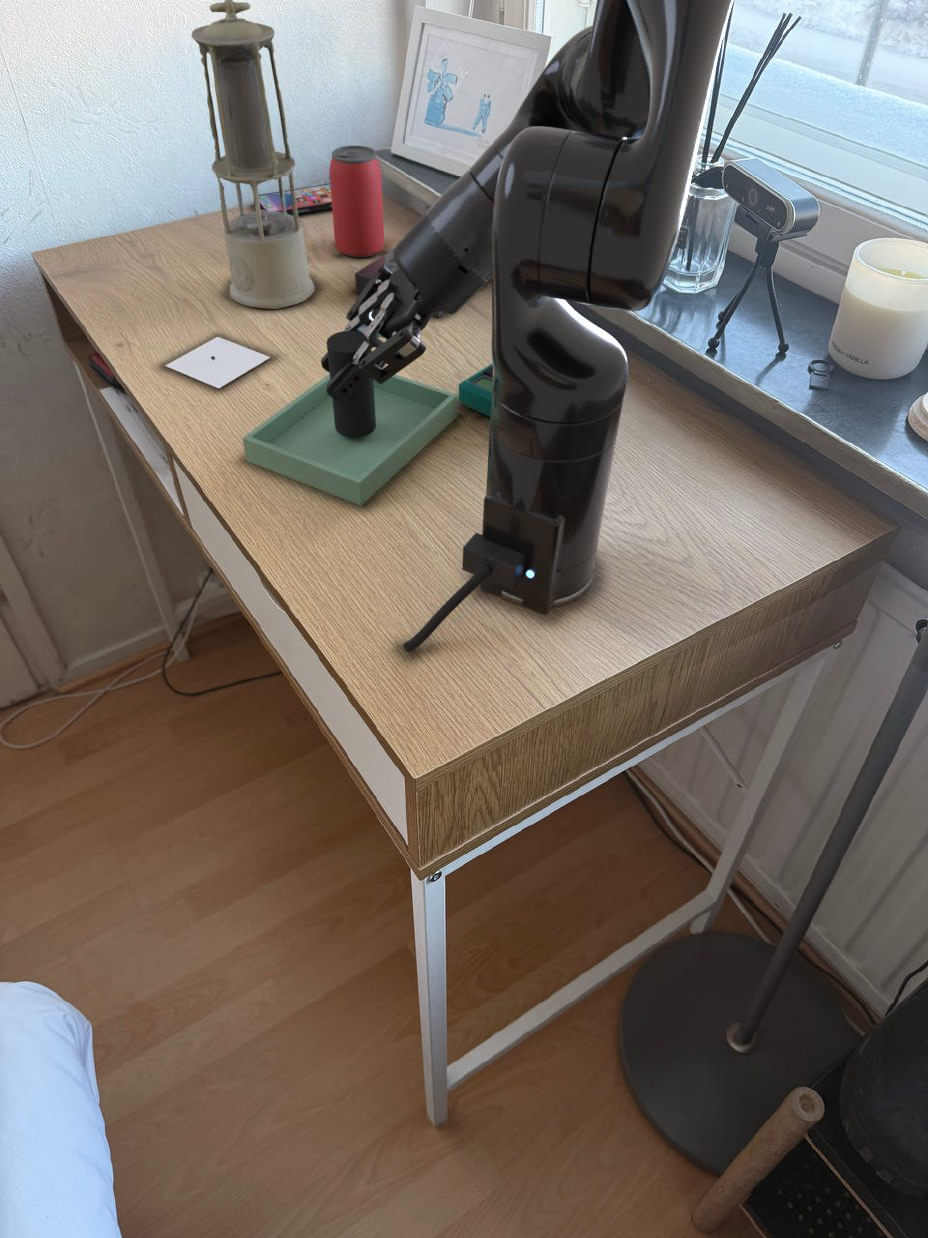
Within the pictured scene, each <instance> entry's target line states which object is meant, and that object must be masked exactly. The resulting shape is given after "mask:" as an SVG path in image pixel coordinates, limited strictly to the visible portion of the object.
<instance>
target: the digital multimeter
mask: <svg viewBox="0 0 928 1238" xmlns="http://www.w3.org/2000/svg"><path fill="white" fill-rule="evenodd" d="M492 378H493V364H492V363H491V364H489V365H488V366H486V367H484V368H483V369H481V370H480V371H478V372H476V373H475V374H473V375H471V376H470V377H468V378H467V379H465V380H463V381H461V382H460V383H459V384H458V395H457V401H458V402H460V403H461V404H462V405H464V406H466V407H469V408H470V409H472V410H473V411H476V412H478V413H480V414H483V415H485V416H487V417H489V418H490V417H491V399H492Z"/></svg>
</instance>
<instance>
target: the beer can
mask: <svg viewBox="0 0 928 1238" xmlns="http://www.w3.org/2000/svg"><path fill="white" fill-rule="evenodd" d="M380 165H381V164H380V162H379V160H378V157H377V152H376V150H374V149H373V148H371V147H369V146H365V145H343V146H340V147H337V148H335V149H334V150H333V151H332V152H331V160H330V164H329V169H328V174H329V183H330V187H331V199H332V208H331V211H332V223H333V234H334V245H335V249H336V250H337V251H338V252H339V253H340V254H343V255H344V256H347V257H351V258H369V257H373V256H375V255H377V254H378V253H380V252H381V251H382V250H383V248H384V247H385V229H384V228H385V227H384V206H383V205H384V204H383V181H382V180H383V178H382V170H381V167H380Z"/></svg>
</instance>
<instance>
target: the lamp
mask: <svg viewBox="0 0 928 1238" xmlns="http://www.w3.org/2000/svg"><path fill="white" fill-rule="evenodd" d="M250 9H251V4H250V3H249V2H246V1H245V2H239V1H237V2H236V1H234V0H224V1H223V2H215V3H212V4H210V5H209V10H210V12H211V13H225V14H226V15H225V17H224V18H222V19H218V20H215V21H213V22H211V23H210V24H206V25H203V26H199V27H197V28H194V29H193V30H192V32H191V38H192V40H194V41H195V43H197V45H198V49H199V53H200V55H201V57H202V58H201V60H200V61H201V64H202V65H203V71H204V72H203V73H204V78H205V79H204V80H205V84H206V92H207V95H206V97H207V98H206V102H207V103H206V105H207V107H208V114H209V125H210V131H211V136H212V138H213V141H214V151H215V152H214V159H215V160H214V162H213V163H212V164H211V171H212V172H213V173H214V174H215V176H216V178H217V183H218V190H219V200H220V210H221V214H222V215H221V216H222V221H223V228H224V229H223V232H224V239H225V244H226V245H225V246H226V250H227V258H228V263H229V264H228V265H229V271H230V277H231V283H230V285H229V296H230V298H231V299H232V300H234V301H235V302H237V303H238V304H240V305H243V306H246V307H250V308H259V309H270V310H277V309H282V308H283V309H284V308H286V307H290V306H295V305H297V304H300V303H302V302H305V301H306V300H308V298H310V297H311V296H312V295H313V293H314V291H315V290H316V287H315V285H314V281H313V280H312V277H311V276H310V273H309V264H308V258H307V253H306V252H307V251H306V245H305V239H304V228H303V224H302V221H301V220H300V218H299V214H298V211H297V203H296V195H295V189H296V188H295V181H294V175H293V173H294V169H295V167H296V160H295V159H294V158H293V157H292V156H291V151H290V146H289V143H288V133H287V124H286V123H287V122H286V115H285V109H284V108H285V107H284V103H283V102H284V101H283V96H282V92H281V89H280V85H279V84H280V83H279V78H278V74H277V68H276V60H275V55H274V53H275V48H274V43H273V39H274V37H275V33H276V32H275V29H274V28H273V27H272V26H269V25H266V24H262V23H258V22H254V21H249V20H247V19H245V18H238V16H237V14H239V13H242V12H245V11H249V10H250ZM263 48H265V49H267V51H268V55H269V60H270V65H271V71H272V78H273V82H274V88H275V94H276V100H277V107H278V112H279V118H280V126H281V132H282V140H283V145H284V153H283V152H281V151H276V149H275V144H274V139H273V134H272V133H273V132H272V124H271V119H270V112H269V107H268V100H267V95H266V86H265V81H264V77H263V68H262V67H263V66H262V62H261V60H262V54H261V53H260V51H261V49H263ZM207 54H209V56H210V61H211V67H212V73H213V83H214V92H215V98H216V104H217V112H218V119H219V125H220V131H221V136H222V142H223V147H224V148H223V149H224V155H223V156H221V150H220V143H219V142H220V141H219V135H218V128H217V121H216V115H215V114H216V113H215V108H214V100H213V96H212V91H211V83H210V82H211V81H210V74H209V68H208V56H207ZM283 177H288V182H289V190H290V191H291V199H292V209H293V215H289V214H287V213H286V208H285V197H284V191H285V190H284V184H283V183H284V182H283V179H282V178H283ZM221 179H223V180H225V181H228V182H229V183H232V184H234V185H235V189H236V195H237V196H236V197H237V203H238V208H239V209H238V210H239V215H238V216H236V217H234V218H232V219H230V220H229V217H228V216H229V215H228V210H227V204H226V197H225V185H223V182H222V181H221ZM271 180H275V181H276V180H277V182H278V183H277V184H278V192H279V191H280V198H281V207H282V212H273V211H265V210H260V204H259V196H258V195H259V188H258V186H259V184H260V185H261V184H263V183H265V182H269V181H271ZM241 184H244V185H249V186H250V188H251V191H252V195H253V202H254V201H255V203H254V207H255V211H253V212H248V213H245V212H244V204H243V195H242V194H243V193H242V189H241Z"/></svg>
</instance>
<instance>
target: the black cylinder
mask: <svg viewBox="0 0 928 1238" xmlns="http://www.w3.org/2000/svg"><path fill="white" fill-rule="evenodd" d="M364 340H365V339H364V333H362V332H358V331H344V330H342V331H338V332H335V333H333V334H331V335H330V336H329V337H328V338H327V340H326V350H327V352H328V362H329V371H330V373H329V374H330V380H331V379H332V378H333V377H334V376H335V375H336V374H337V373H338V372H339V371H340V370H341V368H342V367H343V366H344V365H345V364H346V363H347V362H348V361H349V360H350V359H351V360H352V358H353V356H354V354H355V353H356V352H357V350H358V349H359V348H360V346H361V345H362V344H363V342H364ZM372 349H373V348H372ZM372 349H371V351H370V352H369V353H371V352H372V351H373V350H372ZM327 352H326V353H327ZM369 353H368V354H369ZM332 401H333V411H334V421H335V429H336V431H337V432H338V433H339V434H341V435H343V436H346V437H351V438H358V437H363V436H367V435H369V434H371V433H372V432H373V431H374V430H375V428H376V414H375V398H374V381H373V379H372V378H371V377H370V378H368V379H367V380H366V381H365V382H364V383H363V384H362V385H361V386H360V387H359V389H358V390H357V391H356V392H355V393H354V394H353V395H352V396H351V397H350V398H349V399H348V400H347V401H346V402H345V403H340V402H338V401H337V400H335V399H334V398H333V397H332Z"/></svg>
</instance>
